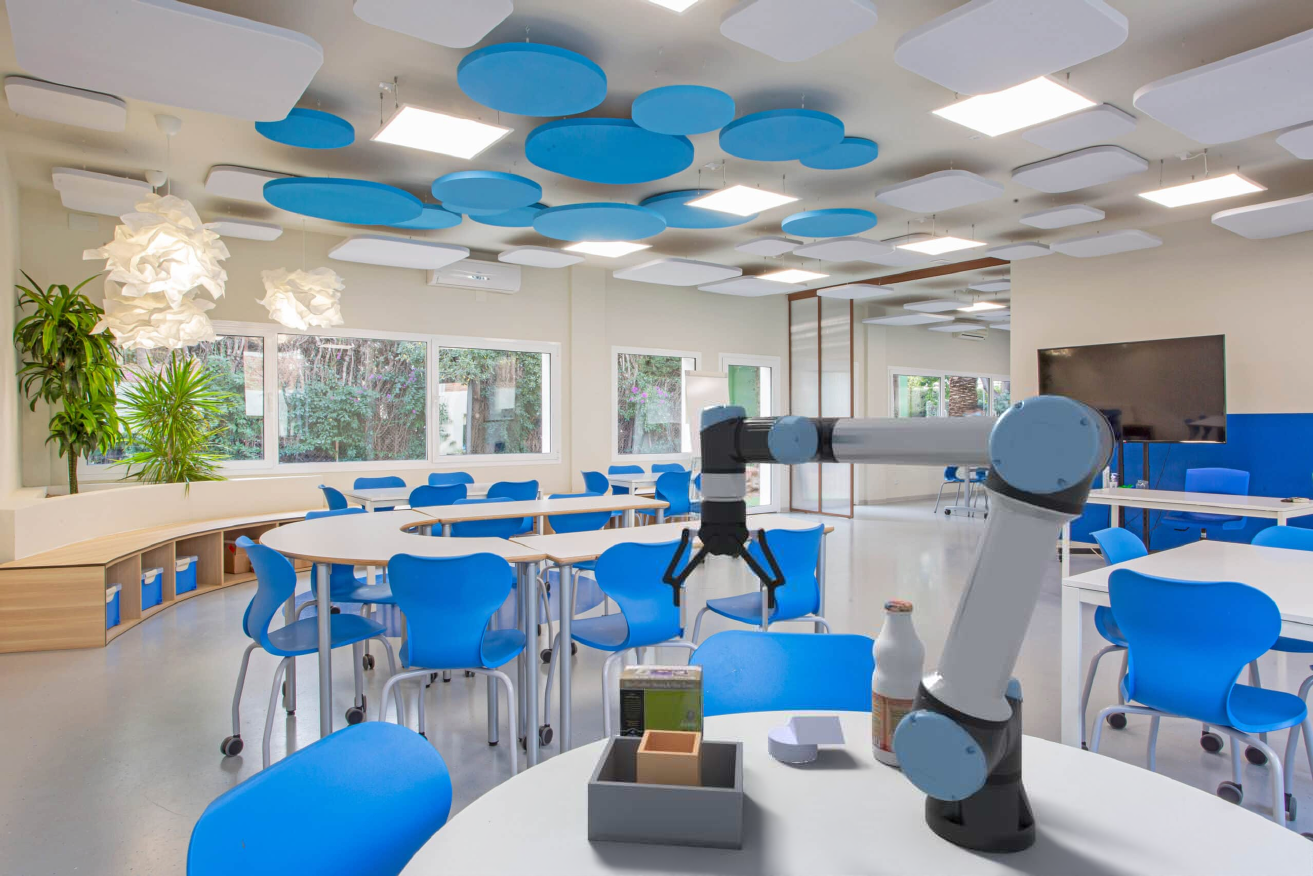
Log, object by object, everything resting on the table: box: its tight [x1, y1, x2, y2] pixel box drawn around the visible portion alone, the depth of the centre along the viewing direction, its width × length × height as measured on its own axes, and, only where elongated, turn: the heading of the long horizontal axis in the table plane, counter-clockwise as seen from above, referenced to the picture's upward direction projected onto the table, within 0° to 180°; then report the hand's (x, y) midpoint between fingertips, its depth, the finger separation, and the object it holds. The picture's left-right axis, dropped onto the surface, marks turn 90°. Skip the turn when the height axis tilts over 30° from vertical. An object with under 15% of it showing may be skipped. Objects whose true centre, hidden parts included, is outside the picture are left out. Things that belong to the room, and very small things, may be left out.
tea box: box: [619, 663, 705, 740], centre depth 140 cm, size 15×10×15 cm
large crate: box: [587, 735, 744, 851], centre depth 116 cm, size 22×18×8 cm
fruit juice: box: [871, 600, 926, 768], centre depth 137 cm, size 9×9×28 cm
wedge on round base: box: [767, 715, 846, 763], centre depth 139 cm, size 9×7×13 cm
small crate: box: [637, 730, 701, 787], centre depth 116 cm, size 9×9×10 cm
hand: (723, 627), depth 125 cm, fingers open, 13 cm apart
